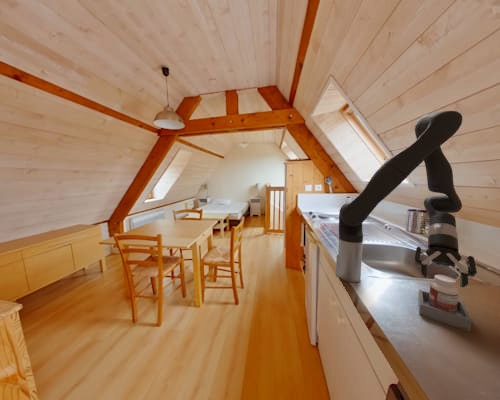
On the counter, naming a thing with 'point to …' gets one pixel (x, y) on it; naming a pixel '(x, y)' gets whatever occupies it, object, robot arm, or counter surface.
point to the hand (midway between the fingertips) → (443, 281)
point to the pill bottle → (443, 293)
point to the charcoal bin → (444, 313)
